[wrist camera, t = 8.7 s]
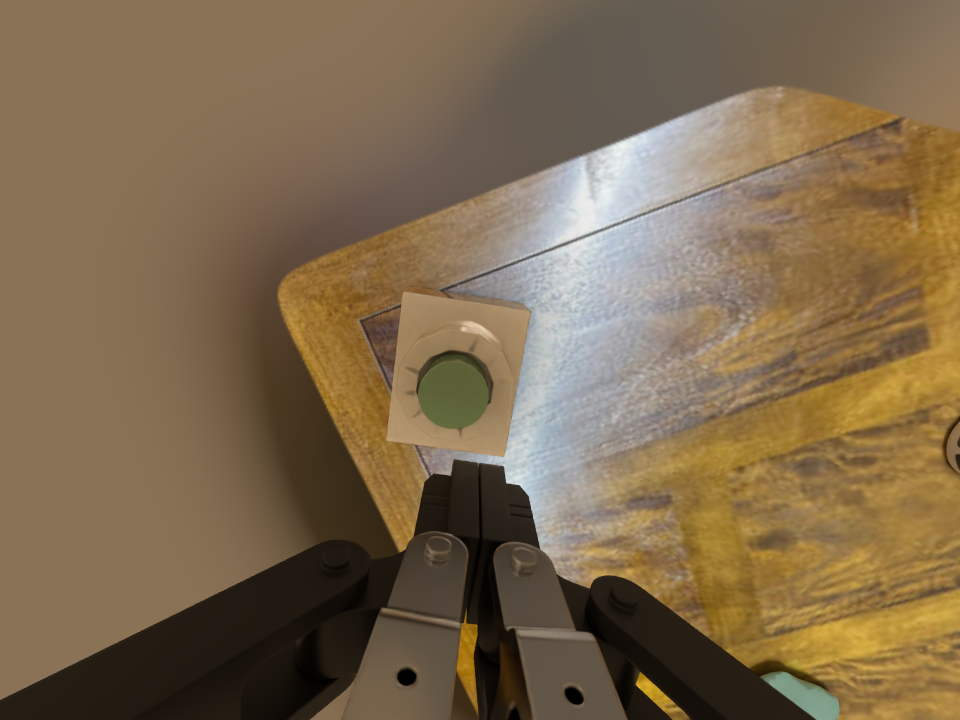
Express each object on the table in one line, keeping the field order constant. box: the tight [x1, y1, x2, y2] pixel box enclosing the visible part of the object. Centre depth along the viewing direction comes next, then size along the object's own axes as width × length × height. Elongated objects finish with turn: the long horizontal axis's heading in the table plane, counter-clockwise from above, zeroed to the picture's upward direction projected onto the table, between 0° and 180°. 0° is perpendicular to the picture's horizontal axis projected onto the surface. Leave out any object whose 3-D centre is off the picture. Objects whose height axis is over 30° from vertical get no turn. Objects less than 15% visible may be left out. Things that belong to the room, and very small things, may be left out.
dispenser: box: [386, 286, 531, 457], centre depth 29 cm, size 10×8×6 cm
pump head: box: [418, 354, 489, 429], centre depth 26 cm, size 4×4×2 cm
